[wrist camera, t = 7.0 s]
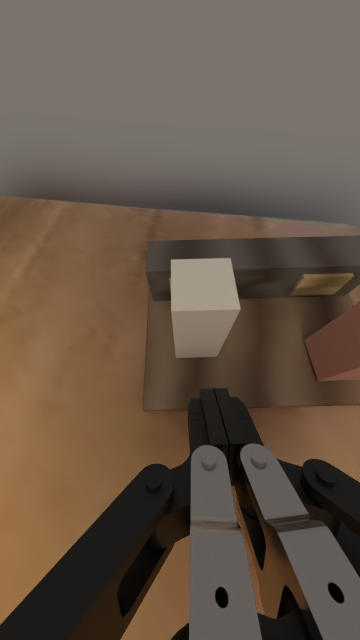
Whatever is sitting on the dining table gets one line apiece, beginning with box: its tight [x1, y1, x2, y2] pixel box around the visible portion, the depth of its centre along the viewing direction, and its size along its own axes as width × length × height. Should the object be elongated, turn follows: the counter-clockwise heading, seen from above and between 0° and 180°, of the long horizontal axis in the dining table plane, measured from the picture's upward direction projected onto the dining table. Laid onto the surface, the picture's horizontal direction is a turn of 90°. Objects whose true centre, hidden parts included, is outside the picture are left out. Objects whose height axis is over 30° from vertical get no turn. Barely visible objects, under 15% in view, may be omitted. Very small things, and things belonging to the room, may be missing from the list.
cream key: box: [171, 258, 241, 358], centre depth 16 cm, size 4×4×9 cm
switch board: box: [143, 236, 360, 411], centre depth 20 cm, size 23×16×6 cm
